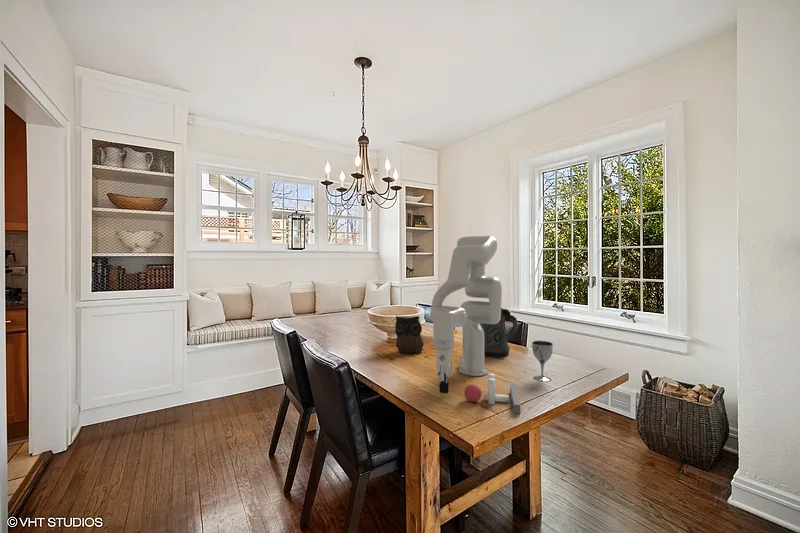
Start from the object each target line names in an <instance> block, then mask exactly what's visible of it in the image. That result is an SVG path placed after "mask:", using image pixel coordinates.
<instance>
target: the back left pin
mask: <svg viewBox="0 0 800 533" xmlns="http://www.w3.org/2000/svg"><path fill="white" fill-rule="evenodd" d="M495 376H496V374H495V373H487V380H488V379H489V378H493V379H495V380H496V377H495Z"/></svg>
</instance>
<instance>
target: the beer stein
mask: <svg viewBox="0 0 800 533" xmlns="http://www.w3.org/2000/svg"><path fill="white" fill-rule="evenodd" d="M506 321H509V322H511V323H512V327H511V329H510V330H509V332H508V333H507V328H506ZM481 327H482V328H483V330H484V357H488V358H506V357H507V356H509V353H510V346H509V343H508V340H510V339H511V338H513V336H514V334H515V333H516V332H517V330H518V327H519V323H518V318H516V316H514V315H512V314H511V312H510V311H509V309H505V308H502V307H501V318H500V321H499V322H498V323H497V324H484V323H481Z"/></svg>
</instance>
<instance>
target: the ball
mask: <svg viewBox="0 0 800 533" xmlns="http://www.w3.org/2000/svg"><path fill="white" fill-rule="evenodd" d="M463 394H464V395H463V396H464V397H465V399H466V400H467V401H469V402H471V403H477V402H478V401H480V399H481V398H482V390H481V387H479V386H478V385H477V384H474V383H473V384H467V385H466V387H465V388H464V393H463Z"/></svg>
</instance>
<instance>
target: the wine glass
mask: <svg viewBox="0 0 800 533" xmlns="http://www.w3.org/2000/svg"><path fill="white" fill-rule="evenodd" d="M553 344H554V343H553V342H552V341H546V340H533V341H532V344H531V347H532V354H533V356H534V357H535V359H536V360H537V362H538V363H539V366H540V370H541V371H540V372H541V373H540V375H539V374H537V375H534V376H533V380H534V381H538V382H543V381H547V382H551V381H552V378H551V377H550V378H549V376H547V375H544V368H545V367H544V366H545V364H546V363H547V362H548V361H549V360H550V359H551V357H552V354H553V351H554V346H553ZM550 380H551V381H550Z"/></svg>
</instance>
